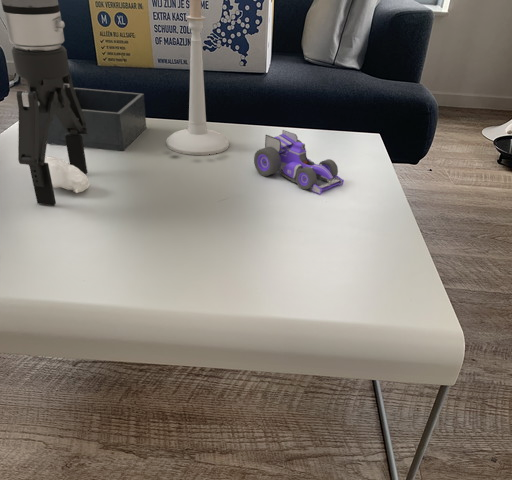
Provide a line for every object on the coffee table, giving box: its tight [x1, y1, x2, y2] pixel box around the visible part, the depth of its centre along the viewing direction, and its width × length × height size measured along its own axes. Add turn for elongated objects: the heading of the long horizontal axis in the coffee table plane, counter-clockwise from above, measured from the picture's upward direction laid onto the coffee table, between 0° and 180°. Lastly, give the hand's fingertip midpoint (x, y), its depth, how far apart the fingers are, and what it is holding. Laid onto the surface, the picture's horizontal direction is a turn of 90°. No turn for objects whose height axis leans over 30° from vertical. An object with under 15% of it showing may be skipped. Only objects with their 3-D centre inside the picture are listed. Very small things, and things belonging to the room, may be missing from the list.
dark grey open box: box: [47, 87, 147, 152], centre depth 112 cm, size 16×16×7 cm
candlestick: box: [165, 0, 230, 156], centre depth 103 cm, size 13×13×30 cm
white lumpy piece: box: [44, 156, 91, 194], centre depth 90 cm, size 5×7×10 cm
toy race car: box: [253, 129, 345, 195], centre depth 99 cm, size 10×15×6 cm, turn 46°
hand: (64, 187), depth 91 cm, fingers open, 13 cm apart
